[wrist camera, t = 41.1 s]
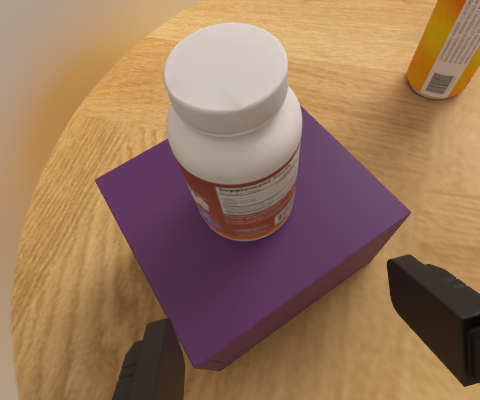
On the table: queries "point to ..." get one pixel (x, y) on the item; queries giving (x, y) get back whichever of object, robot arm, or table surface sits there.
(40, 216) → the table surface
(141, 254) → the lid
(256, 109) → the pill bottle
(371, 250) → the box
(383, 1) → the table surface
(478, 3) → the beer can
